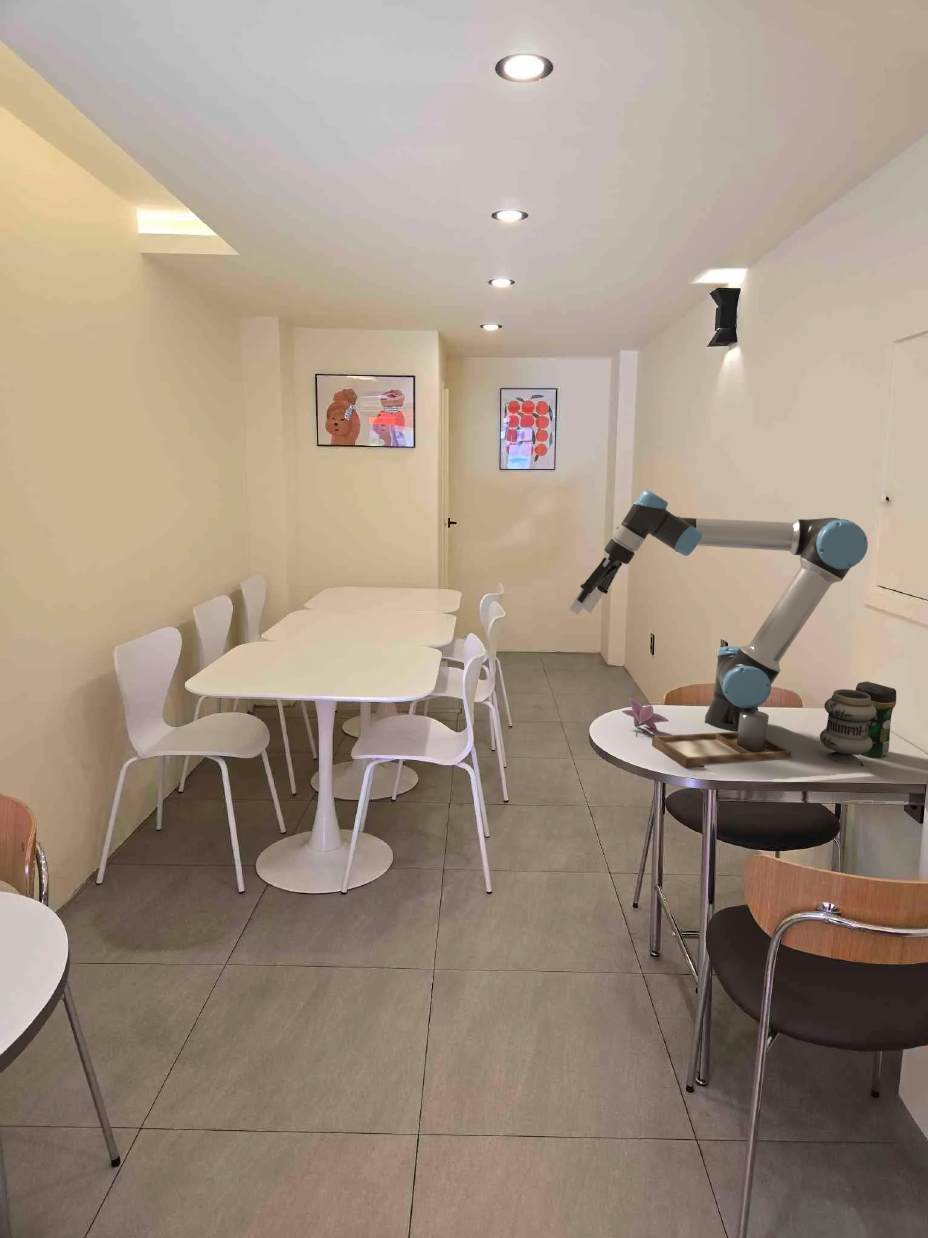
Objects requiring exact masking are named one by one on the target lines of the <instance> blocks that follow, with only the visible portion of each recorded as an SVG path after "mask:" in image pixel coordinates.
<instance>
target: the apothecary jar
mask: <svg viewBox="0 0 928 1238" xmlns="http://www.w3.org/2000/svg"><path fill="white" fill-rule="evenodd" d="M824 710H825V712H827V714H828V716H827V723H826V728H825V729H823V730H822V731H821V732H820V734H819V740H820V742H821V744H823V745H824V747H825V748H827V749H829V750H830V751H831V752H828V753H826V755H825V756H826V757H827V758H828V759H830V760H832V761H834V762H838V763H843V764H856V765H858V766H860V767H863V766H864V767H865V763H864V762H863V761H862V759H860V758H858V757H857V756H858V755H864V754H863V753H866V752H868V751H869V750H870V749H871V748H872V740H871V738H870V737H869V736H868V730H869V722H870V719H872V718H874V717H875V715H876V709H875V707H874V706H873V705H872V704H871V697H870V695H868V694H867V693H864V692H860V691H856V689H854V690H853V689H847V688H845V689H836V690H834V691H833V693H832V696H831V697H830V698H828V699H827V700H826V701H825V703H824Z"/></svg>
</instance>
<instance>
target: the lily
mask: <svg viewBox="0 0 928 1238" xmlns="http://www.w3.org/2000/svg"><path fill="white" fill-rule="evenodd" d="M628 701H629V703H630V707H631V709H625V710H624V709H623V710H622V711H621V712H622V713H623V714H625V715H627V716H630V717H631V718H633V725H634V727H636V726H638V727H637V730H636V734H635V737H638V734H639V729H640V727H642V726H646V727H648V728H649V729H652V730H658V728H657V725H656V723H666V722H667V723H668V722H669V719H668V718H666V717H665V716H663V715H661V714H658V713H656V712H655V713H654V706H653V705H647V706H643V705H642V704H641V703H640V702H639V701H637V700H636V699H634V698H632V697H628Z"/></svg>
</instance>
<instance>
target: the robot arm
mask: <svg viewBox="0 0 928 1238" xmlns="http://www.w3.org/2000/svg"><path fill="white" fill-rule="evenodd" d="M668 504H669V503H668V501H667V500H665V499H664V498H662V497H660V496H659V495H657V494H655V493H654V492H652V491H651V490H648V489H647V490H646V489H645V490H643V491H642V492H641V493H640V494H639V496H638V498H636V500H635V501H634V503H633V504H632V506H631V507H630V509H629V510H628V513H627V514H626V515H625V517H624V518H623V520H622V521H621V524H620V525H617V526H616V527H615V529H616V531H615V532H614V534H613V538H610V539H609V541H608V543H607V544H606V546H605V547H604V551H605V552H606V553H607V554H608V555H609V556H608V557H607V558H606V557H604V558H602V560H601V561H600V563H599V564H598V565H597V567H596V568H595V569H594V570H593V572H592V573H591V574H590V575H589V577H588V578H587V579H586V580H585V582H584V583H583V584H580V589H581V590H580V592H579V593H578V594H577V596H576V598H575V599H574V600H573V602H572V604H571V606H570V607H569V610H570V611H571V612H573V613H574V614H576V615H579V614H580V613H581V611H582V610H583V609H584V610H586V612H588V613H592V612H593V610H594V608H595V607H596V606H597V604H598V602H599V601H600V600H601V598H602V597H603V595H604V594H605V595H607V594H608V593H609V591H608V590H609V589H610V586H611V585H612V583H613V581H614V579H615V578H616V575H617V573H618V571H619V570H620V568H621V567H622V565H623V564H624V565H628V564H630V562H631V560H632V559H633V558H634V556H635V552H638V551H639V549H640V548H641V546H642V545H643V543H644V541H645V540H646V538H647V537H648V535H651V536H652V537H654V538H656V539H657V540H659V541H660V542H661V543H663V544H664V545H666V546H668V547H669V548H671V549H672V550H674V551H675V552H676V553H679V554H681V555H683V556H684V557H689V556H690V554H692V552H693V551H694V550H695V548H696V547H697V546H699V547H700V546H701V547H714V548H715V547H716V548H733V549H752V550H769V551H783V552H784V551H785V552H790V553H791V555H793V556H799V562H800V567H799V569H798V570H797V571H796V573H795V575H794V576H793V578H792V580H791V581H790V582H789V583H788V585H787V587H786V588H785V589H784V591H783V593H781V596H780V597H779V598H778V601H777V602H776V604H774V606H773V608H772V609H771V611H770V613H769V614H768V616H767V617H766V619H765V620H764V622H763V623H762V625H761V626H760V628H759V629H758V631H757V632H756V634H755V635H754V637H753V639H752V640H751V641H750V643H749V644H747V645H743V646H733V645H732V646H731V645H729V646H727V645H726V646H721V647H719V649H718V654H717V656H716V657H717V658H716V659H717V663H716V674H715V683H714V692H713V698H712V700H711V702H710V705H709V707H708V710H707V712H706V713H705V716H704V724H707V725H710V726H711V727H714V728H717V729H721V730H725V731H728V732H738V726H739V717H740V711H743V710H755V711H759V706H761V705H762V704H764V703H765V702H766V701H767V700H768V698H769V697H770V695H771V692H772V691H771V690H772V684H773V683H774V681H775V680H776V678H777V677H778V675H779V674H780V672H781V667H780V661H781V660H782V659H783V657H784V656H785V654H786V652H787V651H788V650H789V648H790V646H791V645H792V643H793V642H794V640H795V639H796V638H797V636H798V635H799V633H800V632H801V630H802V629H803V627H804V626H805V624H806V623H807V621H808V620H809V618H810V617H811V616H812V615H813V612H814V611H815V610H816V608H817V607H818V606H819V604H820V602H821V601H822V600H823V598H824V597H825V595H826V593H827V592H828V590H829V589H830V587H831V586H832V584H835V583H838V582H842V581H843V579H844V578H845V577H846V576H847V574H848V572H849V571H850V569H851V568H853V567H855V566H857V565H858V564H859V563H860V562H862V560H863V559H864V558H865V555H866V554H867V551H868V546H869V543H868V542H869V541H868V537H867V535H866V532H865V531H864V530H863V528H861V527H860V526H859V524H856V523H855V522H853V521H851V520H848V519H844V518H838V517H823V518H812V519H811V518H810V519H801V518H796V519H795V520H794V521H792V522H787V521H785V522H782V521H765V520H764V521H762V520H761V521H759V520H744V519H743V520H741V519H739V520H738V519H719V518H717V519H716V518H703V517H702V518H699V517H697V518H696V517H695V518H694V517H681V516H677V515H674V514H673V513H671V512H670V511H668V510H667V507H668Z"/></svg>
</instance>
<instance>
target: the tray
mask: <svg viewBox="0 0 928 1238" xmlns="http://www.w3.org/2000/svg"><path fill="white" fill-rule="evenodd" d="M737 735H738V732H737V731H726V732H725V731H724V732H708V733H706V732H705V733H689V734H672V735H657V736H654V735H653V736H652V739H651V740H652V741H651V746H653V747H654V748H655V749H656V750H658V751H659V752H661V753H662V754H664V755H665V756H666V757H668V758H670V760H672V761H674V762H676V763H677V764H678V765H680V766H681V767H683V768H684V769H694V768H695V769H697V768H706V766H705V765H704V764H715V763H716V764H717V763H728V762H729V763H730V762H742V761H743V762H744V761H758V760H759V761H760V760H772V759H787V758H792V753H793V752H792V751H791V750H789V749H787V748H785V747H783V746H781V745H779V744H777V743H776V742H774V741H772V740H770V739H768V738H766V744H765V750H764V751H762V752H750V751H747V750H745V749H744V748H742V747H740V746H738V745H737Z"/></svg>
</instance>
